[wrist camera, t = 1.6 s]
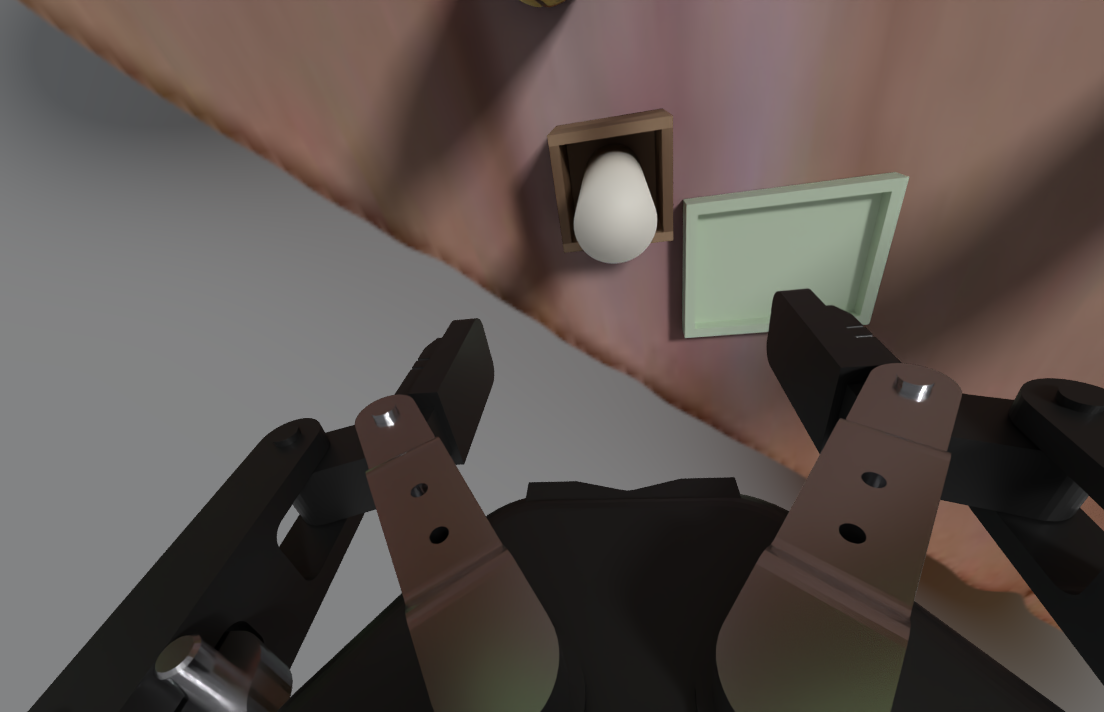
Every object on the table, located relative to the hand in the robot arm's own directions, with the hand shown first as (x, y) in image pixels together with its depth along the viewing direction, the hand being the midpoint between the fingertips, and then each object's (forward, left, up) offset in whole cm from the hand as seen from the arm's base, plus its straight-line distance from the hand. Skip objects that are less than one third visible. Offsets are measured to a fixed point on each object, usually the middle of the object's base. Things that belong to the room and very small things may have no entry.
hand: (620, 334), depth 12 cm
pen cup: (0, 0, -23) cm, 23 cm away
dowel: (0, 0, -23) cm, 23 cm away
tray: (-12, +8, -23) cm, 27 cm away
